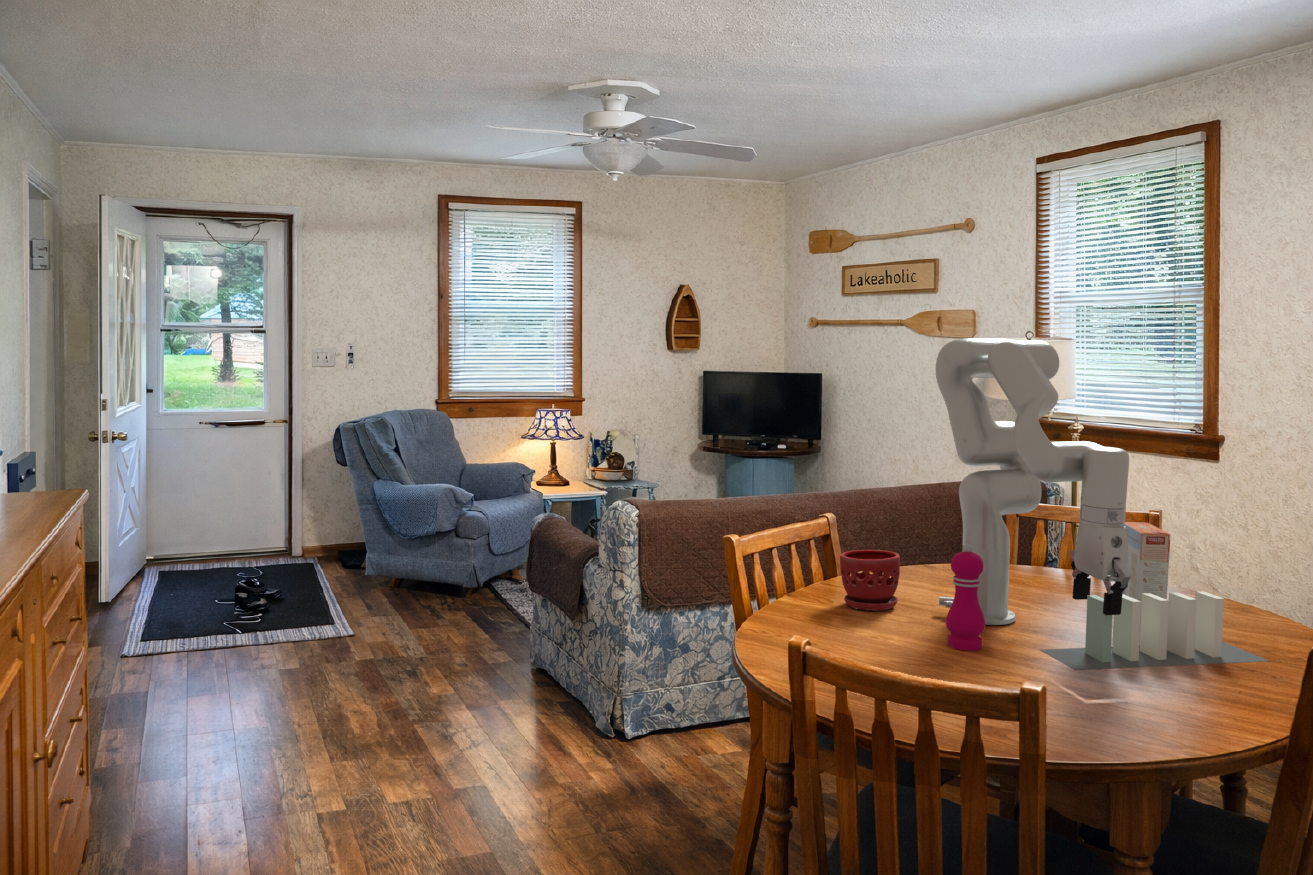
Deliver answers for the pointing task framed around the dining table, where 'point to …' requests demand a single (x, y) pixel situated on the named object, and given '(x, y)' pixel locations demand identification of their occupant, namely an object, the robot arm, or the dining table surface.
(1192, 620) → the domino
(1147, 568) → the cracker box
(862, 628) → the dining table surface
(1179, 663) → the domino mat
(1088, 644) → the sage domino
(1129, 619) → the domino
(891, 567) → the plant pot
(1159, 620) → the domino
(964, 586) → the pepper mill
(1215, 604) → the domino
